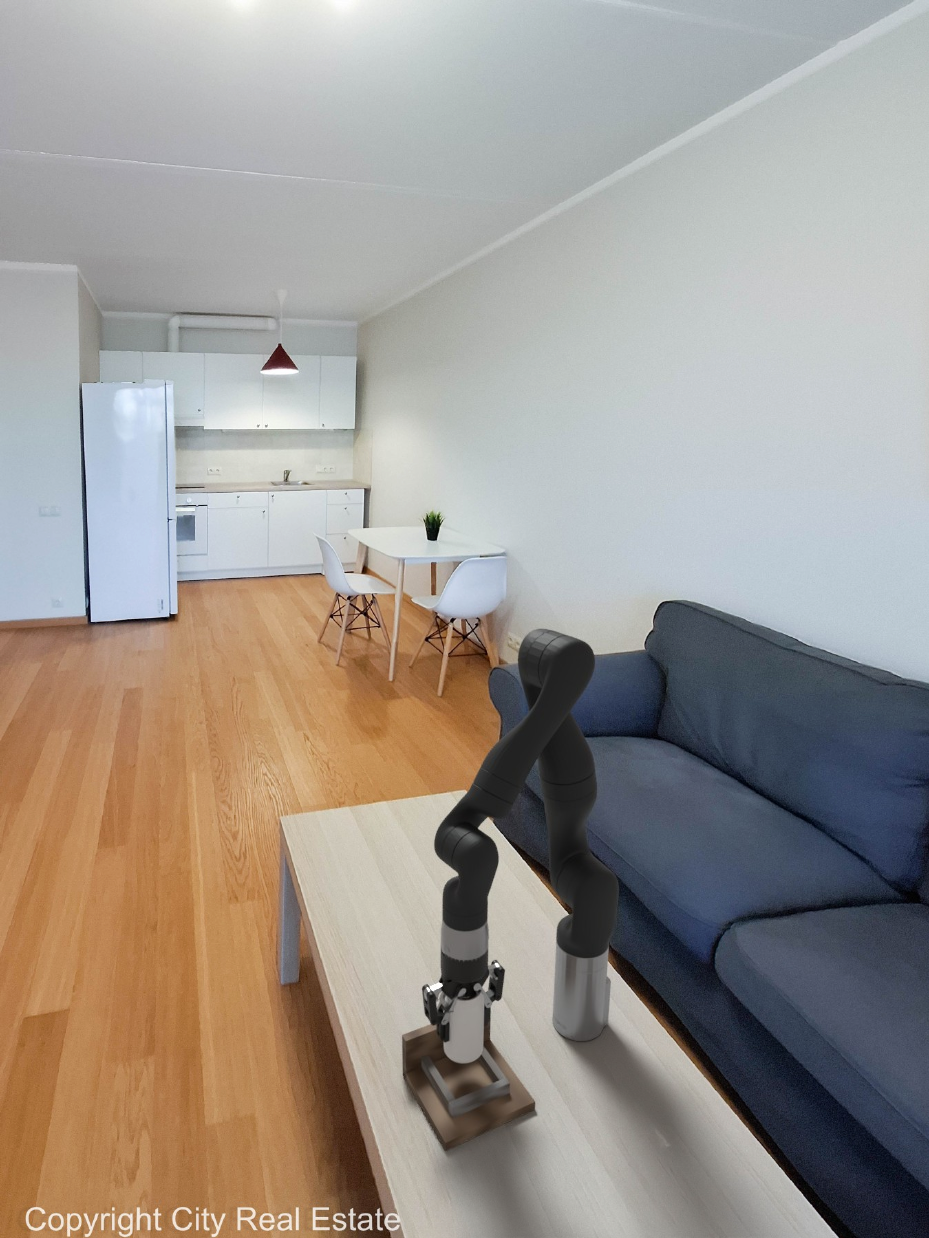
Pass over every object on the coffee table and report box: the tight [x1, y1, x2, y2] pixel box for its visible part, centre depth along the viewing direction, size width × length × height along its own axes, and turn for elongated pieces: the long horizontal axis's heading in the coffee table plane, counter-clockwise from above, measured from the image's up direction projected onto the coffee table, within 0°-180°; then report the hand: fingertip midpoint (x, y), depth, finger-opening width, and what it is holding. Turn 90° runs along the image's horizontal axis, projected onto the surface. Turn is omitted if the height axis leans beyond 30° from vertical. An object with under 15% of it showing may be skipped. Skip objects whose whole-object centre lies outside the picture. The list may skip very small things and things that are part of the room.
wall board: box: [401, 1011, 536, 1152], centre depth 130 cm, size 16×16×8 cm
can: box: [443, 990, 484, 1064], centre depth 129 cm, size 6×6×12 cm
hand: (463, 1030), depth 130 cm, fingers closed on can, 6 cm apart
